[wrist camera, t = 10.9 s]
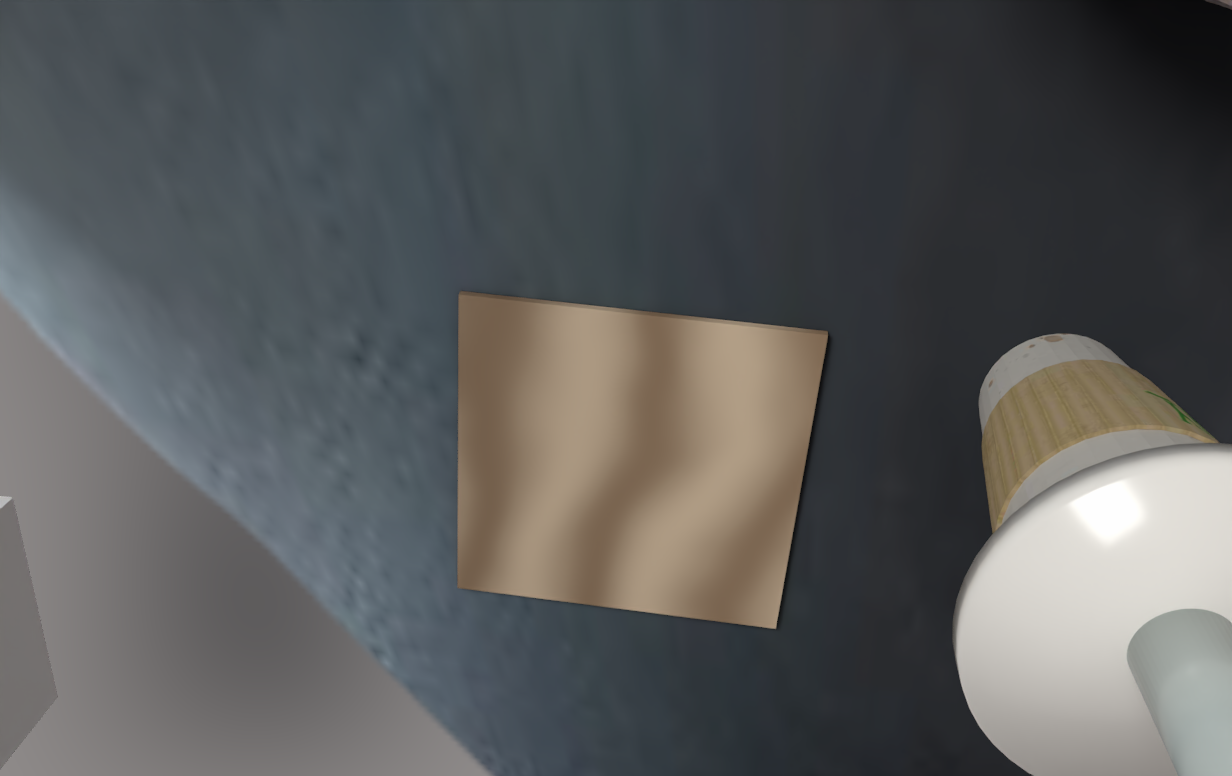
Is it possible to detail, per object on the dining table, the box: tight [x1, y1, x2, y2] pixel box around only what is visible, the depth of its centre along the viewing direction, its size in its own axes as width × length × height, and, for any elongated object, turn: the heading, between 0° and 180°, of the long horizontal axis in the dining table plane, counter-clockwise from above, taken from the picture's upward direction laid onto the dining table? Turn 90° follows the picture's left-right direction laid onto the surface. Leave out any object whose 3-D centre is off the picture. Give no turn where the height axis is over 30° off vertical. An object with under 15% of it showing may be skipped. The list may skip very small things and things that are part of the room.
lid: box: [953, 443, 1232, 776], centre depth 30 cm, size 13×13×8 cm
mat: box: [458, 291, 828, 629], centre depth 50 cm, size 16×16×1 cm
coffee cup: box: [979, 334, 1219, 533], centre depth 40 cm, size 10×10×15 cm
